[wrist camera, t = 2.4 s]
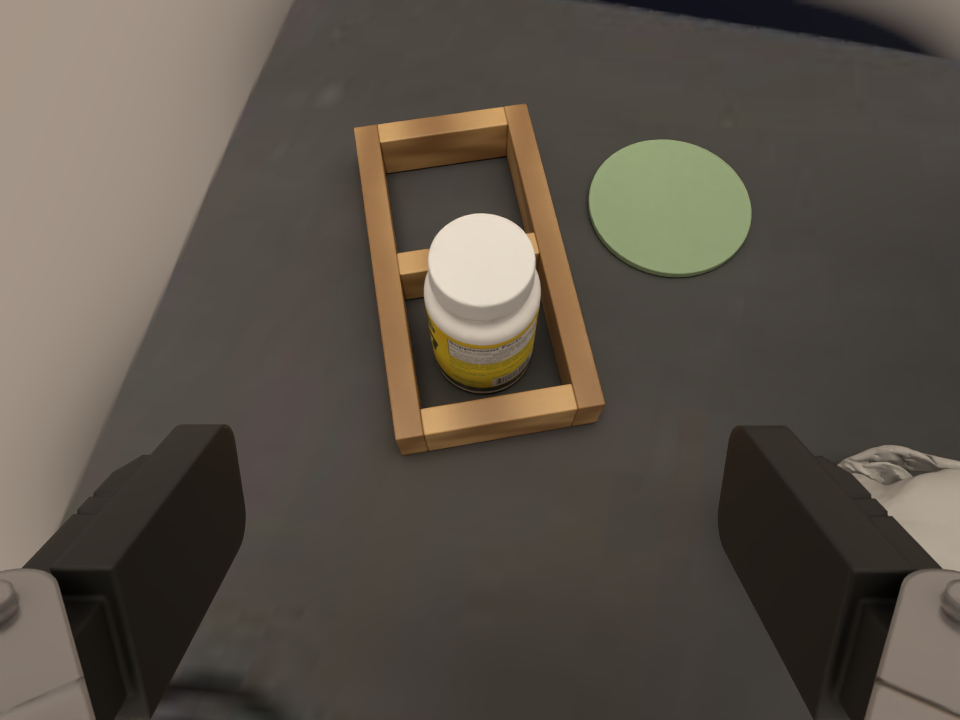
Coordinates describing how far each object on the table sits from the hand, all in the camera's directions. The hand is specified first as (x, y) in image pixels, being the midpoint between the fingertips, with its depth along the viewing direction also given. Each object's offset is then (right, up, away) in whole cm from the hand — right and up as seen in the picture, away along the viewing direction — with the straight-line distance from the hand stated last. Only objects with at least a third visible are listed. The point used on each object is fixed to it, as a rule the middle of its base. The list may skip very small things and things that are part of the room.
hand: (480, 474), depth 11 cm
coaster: (+10, +10, +25) cm, 28 cm away
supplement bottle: (0, +2, +22) cm, 22 cm away
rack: (0, +6, +23) cm, 24 cm away
